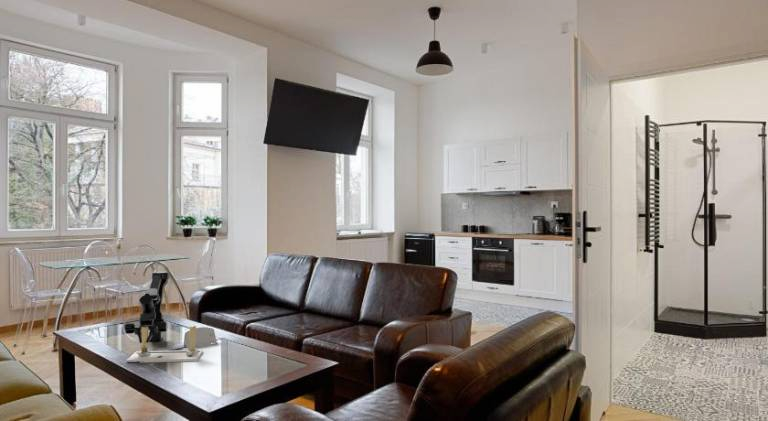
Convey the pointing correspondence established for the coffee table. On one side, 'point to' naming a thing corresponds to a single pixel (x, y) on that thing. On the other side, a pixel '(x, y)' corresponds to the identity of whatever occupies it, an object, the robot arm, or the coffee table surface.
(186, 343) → the grey blocky piece
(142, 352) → the leg
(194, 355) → the plate
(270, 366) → the coffee table surface
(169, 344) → the coffee table surface
